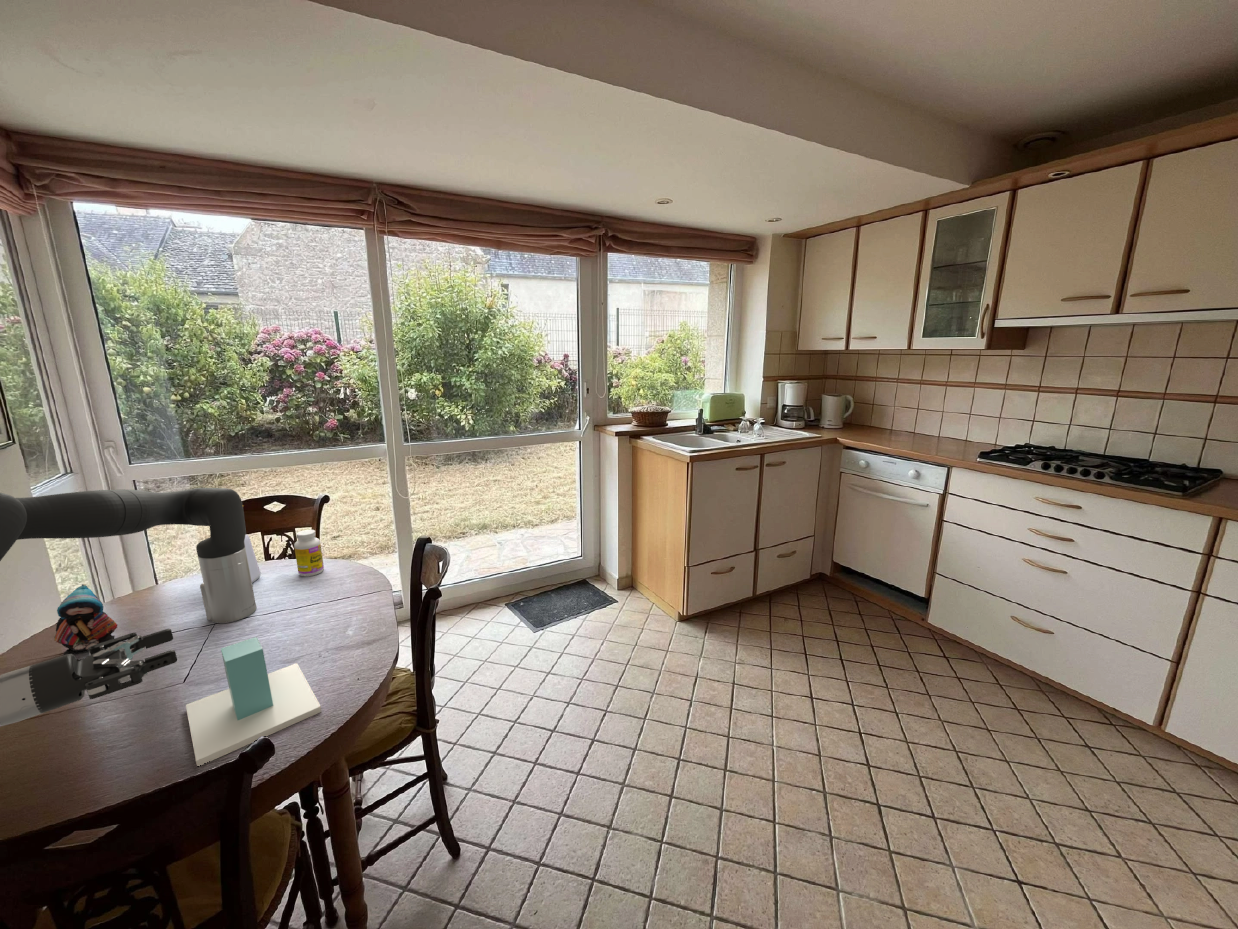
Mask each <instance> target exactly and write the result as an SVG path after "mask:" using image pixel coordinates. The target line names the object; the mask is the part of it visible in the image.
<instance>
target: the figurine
mask: <svg viewBox="0 0 1238 929" xmlns="http://www.w3.org/2000/svg"><path fill="white" fill-rule="evenodd" d="M56 613H57V615H58V617H59V618H58V620H57V622H56V625H55V634H54V640H53V641H54V642H55V643H58V644H59V645H60V644H61V645H62V646H63V647H65V648H66V650H65V651H64V653H63V655H67V654H73V655H76V654H80V653H85V652H89V650H88V648H89V647H90V646H93V645H96V644H99V643H102V642H105V641H109V640H112V639H115V635H112V634H113V633H114V632H115V631H116V629H118V624H117V623H116V622H115V620H114V619H112V617H110V616H109V615H108V614H107V613H106V612H105V611H104V604H103V602H102V600H100V599H99V598H98V596H97V595H96V594H95V593H94V592H93V591H92V589H90V588H89V587H88V586H87V584H85V583H83V584H81V585H80V586H78V587H76V588H75V589H74V590H73V591H72V592H71V593H70V594H69V595H67V596H66V597H65V598H64V599H63V601H61V603H60V604H59V606H57V608H56Z"/></svg>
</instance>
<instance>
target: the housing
mask: <svg viewBox="0 0 1238 929" xmlns="http://www.w3.org/2000/svg"><path fill="white" fill-rule="evenodd" d="M220 651H221V655H222V656H221V657H222V661H223V666H224V670H225V674H226V680H227V686H228V689H229V690H230V695H231V700H232V704H233V708H234V711H235V714H236V717H237V720H240V719H243V718H245V717H247V716H250V715H252V714H255V713H257V712H259V711H262V710H264V709H267V708H269V707H271V706H273V701H272V695H271V690H270V685H269V679H268V674H269V673H268V669H267V665H266V658H265V653H264V648H263V647H262V644H261V642H260V641H259V638H258V636H255V637H251V638H248V639H246V640H242V641H239V642H237V643H234V644H230V645H228V646H225V647H222V648H220Z"/></svg>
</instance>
